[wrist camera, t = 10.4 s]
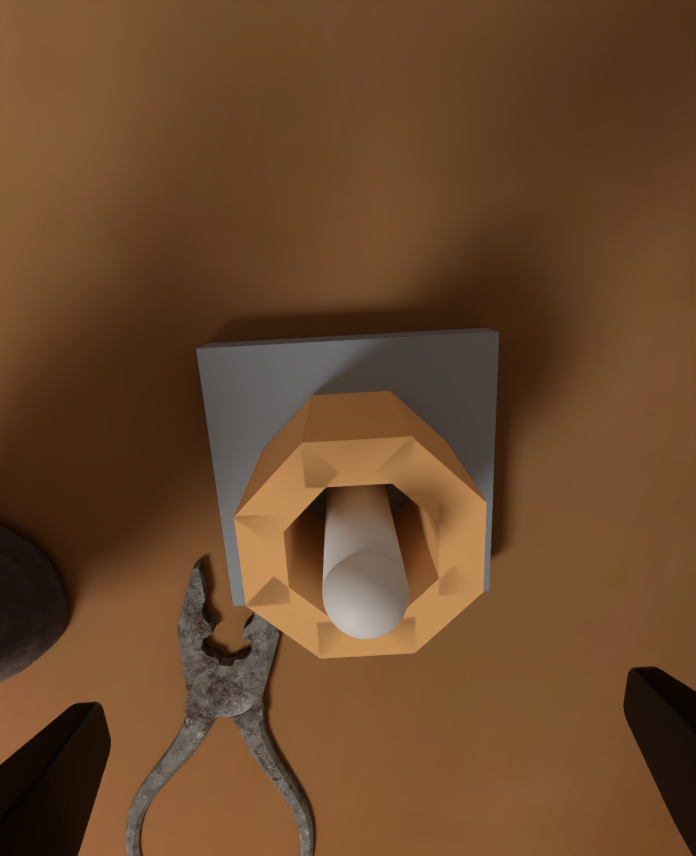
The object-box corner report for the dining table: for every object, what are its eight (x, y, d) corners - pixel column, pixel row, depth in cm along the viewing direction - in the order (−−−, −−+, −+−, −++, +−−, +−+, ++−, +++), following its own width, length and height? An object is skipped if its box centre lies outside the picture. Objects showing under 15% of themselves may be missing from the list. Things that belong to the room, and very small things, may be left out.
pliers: (139, 906, 26) (30, 583, 20) (145, 887, 26) (42, 571, 20) (321, 891, 25) (268, 561, 19) (322, 872, 26) (270, 550, 20)
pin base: (485, 327, 17) (631, 375, 9) (478, 568, 20) (582, 781, 12) (207, 343, 17) (80, 406, 9) (240, 582, 20) (169, 806, 12)
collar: (445, 387, 16) (489, 431, 12) (444, 553, 18) (481, 649, 14) (256, 397, 16) (223, 446, 12) (274, 562, 18) (252, 663, 14)
